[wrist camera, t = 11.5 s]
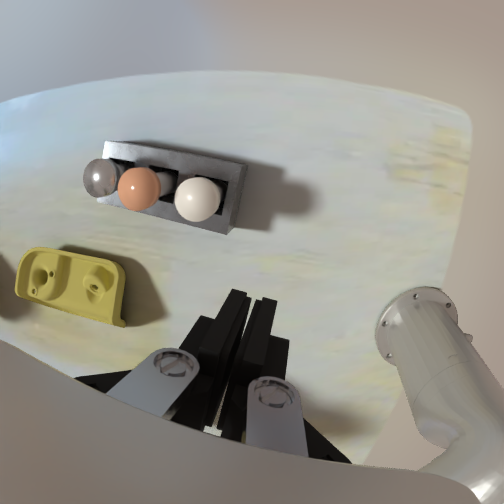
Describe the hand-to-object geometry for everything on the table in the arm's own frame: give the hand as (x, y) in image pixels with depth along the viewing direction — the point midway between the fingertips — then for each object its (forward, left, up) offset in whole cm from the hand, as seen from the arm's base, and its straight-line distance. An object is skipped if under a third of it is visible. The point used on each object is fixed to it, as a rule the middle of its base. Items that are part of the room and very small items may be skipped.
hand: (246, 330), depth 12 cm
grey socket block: (+15, 0, -29) cm, 33 cm away
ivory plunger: (+9, 0, -29) cm, 30 cm away
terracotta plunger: (+15, 0, -27) cm, 31 cm away
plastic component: (+29, +18, -30) cm, 45 cm away
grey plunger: (+21, 0, -29) cm, 36 cm away
